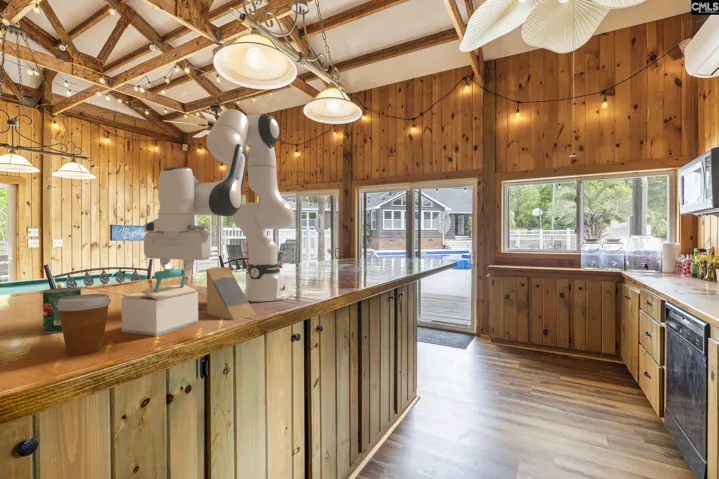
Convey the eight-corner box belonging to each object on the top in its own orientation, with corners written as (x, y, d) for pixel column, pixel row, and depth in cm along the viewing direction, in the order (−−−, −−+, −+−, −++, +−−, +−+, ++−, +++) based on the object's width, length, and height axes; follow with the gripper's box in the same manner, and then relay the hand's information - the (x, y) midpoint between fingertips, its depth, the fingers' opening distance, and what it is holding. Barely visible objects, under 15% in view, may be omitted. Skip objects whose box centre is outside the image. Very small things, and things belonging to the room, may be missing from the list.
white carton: (166, 319, 103) (166, 290, 103) (198, 322, 99) (198, 292, 99) (121, 332, 90) (121, 298, 90) (156, 336, 86) (156, 301, 86)
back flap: (164, 290, 102) (164, 287, 102) (179, 291, 101) (179, 288, 101) (123, 297, 90) (123, 294, 90) (139, 298, 88) (139, 295, 88)
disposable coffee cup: (48, 361, 69) (47, 302, 69) (66, 346, 78) (66, 295, 78) (104, 354, 73) (104, 299, 73) (116, 341, 82) (115, 292, 82)
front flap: (157, 300, 86) (163, 276, 86) (141, 292, 88) (147, 269, 87) (196, 292, 99) (201, 271, 98) (182, 285, 100) (186, 265, 100)
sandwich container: (233, 321, 102) (233, 271, 102) (206, 314, 111) (205, 268, 111) (257, 315, 109) (257, 269, 109) (229, 309, 118) (229, 266, 118)
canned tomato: (36, 331, 90) (35, 290, 90) (70, 324, 97) (70, 286, 97) (53, 335, 87) (53, 292, 87) (87, 327, 94) (87, 288, 94)
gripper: (216, 225, 92) (216, 276, 92) (159, 225, 99) (159, 273, 99) (198, 224, 86) (198, 278, 86) (138, 225, 93) (139, 275, 93)
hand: (177, 275), depth 93 cm, fingers open, 5 cm apart
